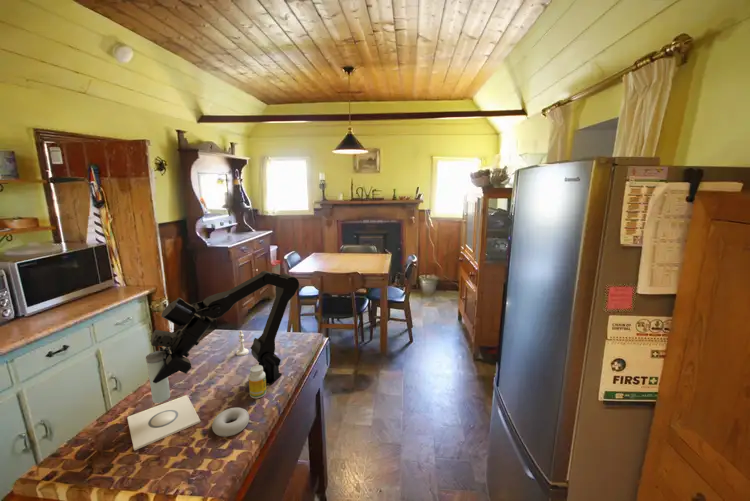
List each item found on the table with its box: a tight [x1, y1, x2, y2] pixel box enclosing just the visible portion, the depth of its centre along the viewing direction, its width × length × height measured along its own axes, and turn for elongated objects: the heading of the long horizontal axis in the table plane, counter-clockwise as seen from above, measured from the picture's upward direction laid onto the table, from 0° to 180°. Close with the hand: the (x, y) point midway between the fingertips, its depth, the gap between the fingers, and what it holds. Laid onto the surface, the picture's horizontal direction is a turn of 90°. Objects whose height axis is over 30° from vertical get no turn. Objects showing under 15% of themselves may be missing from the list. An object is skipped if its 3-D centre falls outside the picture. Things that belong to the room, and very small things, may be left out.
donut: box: [211, 407, 250, 438], centre depth 94 cm, size 10×4×10 cm
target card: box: [127, 394, 201, 451], centre depth 96 cm, size 16×16×1 cm
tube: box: [145, 350, 171, 404], centre depth 95 cm, size 5×5×14 cm
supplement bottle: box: [248, 364, 267, 399], centre depth 108 cm, size 5×5×10 cm
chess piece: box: [236, 330, 250, 357], centre depth 135 cm, size 5×5×10 cm
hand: (153, 378), depth 94 cm, fingers closed on tube, 4 cm apart
